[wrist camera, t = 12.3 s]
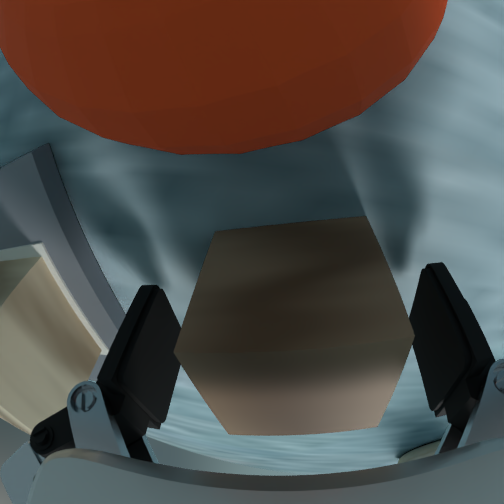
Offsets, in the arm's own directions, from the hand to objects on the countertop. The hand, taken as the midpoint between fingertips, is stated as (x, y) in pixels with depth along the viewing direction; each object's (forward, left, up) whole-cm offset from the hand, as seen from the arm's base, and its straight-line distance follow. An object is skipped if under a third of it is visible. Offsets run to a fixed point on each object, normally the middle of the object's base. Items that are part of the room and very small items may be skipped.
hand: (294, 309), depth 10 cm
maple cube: (+13, 0, 0) cm, 13 cm away
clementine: (0, -10, -2) cm, 10 cm away
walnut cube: (0, 0, -1) cm, 1 cm away
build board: (+13, 0, -1) cm, 13 cm away
